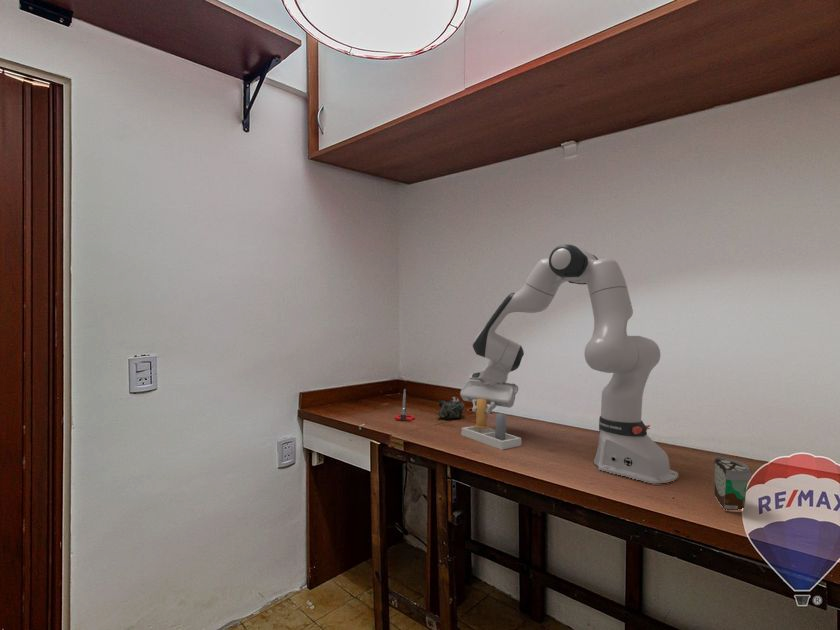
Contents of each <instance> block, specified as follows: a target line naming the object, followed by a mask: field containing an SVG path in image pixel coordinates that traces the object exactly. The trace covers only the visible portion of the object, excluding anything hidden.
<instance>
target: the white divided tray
mask: <svg viewBox="0 0 840 630" xmlns="http://www.w3.org/2000/svg"><path fill="white" fill-rule="evenodd" d="M461 436H463V437H467V438H468V439H470V440H474V441H476V442H479V443H482V444H485V445H487V446H491V447H493V448H496V449H498V450H501V451H503V450H507V449H512V448H518V447H522V437H520V436H516V435H512V434H509V433H507V432H506V436H505V440H503V441H501V440H499V439H496V438H495V429H494V428H491V427H489V426H487V428H486V429H479V428H475V425H471V426H465V427H461Z"/></svg>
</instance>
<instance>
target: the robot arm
mask: <svg viewBox="0 0 840 630" xmlns="http://www.w3.org/2000/svg"><path fill="white" fill-rule="evenodd" d="M565 282H568V283H569V284H576V285H586V286H587V289H588V294H589V299H590V304H591V308H592V314H593V321H594V323H593V331H592V336H591V339H590V340H589V341H588V342H587V344H586V345H585V347H584V353H583V354H584V359H585V362H586V363H587V365H588V367H590V368H591V369H592V370H594V371H598V372H600V373H601V372H602V373H606V374H612V375H611V379H610V380H609V382H608V384H606V386H604V388H603V389H602V391H601V401H600V402H601V406H600V416H599V419H598V421H599V422H598V432H599V437H598V444H597V448H596V449H597V450H596V454H595V457H594V460H593V463H594V464H595V466H597V469H598V470H599V471H600V470H602V471H601V472H603V471H606V472H605V473H607V472H609V473H608V474H611V473H613V474H612V475H615V474H617V475H616V476H618V475H621V476H620V477H622V476H626V477H629V478H628V479H630V478H632V479H631V480H634V479H636V480H635V481H637V480H641V481H644V482H643V483H645V482H649V483H665V482H670V481H672V480H674V479H676V478H677V477H678V478H679V473H678V471H676V470H672V469H671V467H670V460H669V456H668V454H667V452H666V451H665V450H663V449H662V448H661V447H660V446H659V444H657V443H656V442H655V441H654V440H653V439H652V438H651V437H650V436H649V435H648V432H647V431H648V430H650V429H651V428H650V426H651V425H650V424H648V425H645V423H644V421H643V420H642V412H643V410H642V409H643V396H644V391H645V387H646V385H647V384H646V383H647V382H648V379H649V377H650V374H651V372H652V370H653V369H654V368H655V367H656V366H657V365H658V364H659V361H660V360H661V349H660V346H659V345H658V344H657V343H656V342H655V341H654V340H653V339H651V338H648V337H644V336H640V335H628V332H627V331H628V330H627V329H628V328H627V327H628V322H629V321H628V320H630V319H631V317H633V314H634V310H633V305H632V302H631V297H630V294H629V290H628V286H627V281H626V279H625V276H624V273H623V271H622V269H621V267H620V265H619V263H618V262H617V260H615V259H613V258H608V257H604V258H598V257H597V256H595V255H594V254H592V253H591V252H588V251H587V250H586V249H583V248H581V247H578V246H575V245H573V244H559V245H558V246H556V247H554V249H553V250H552V251H551V252H550V253H549V257H547V258H546V257H545V258H541V259H540V260H539V261H537V263H536V264H535V266H534V267H533V268H532V270H531V271H530V273H529V275H528V277H527V278H526V281H525V282H524V284H523V286H522V287H521V288H520V289H519V290H517V291H516V292H510V293H509V294H508V295H507V296H506V297H505V298H504V300H503V301H502V302H501V304H499V306H498V307H497V309H496V310H495V311H494V313H493V314H492V315H491V317H490V319H489V320H488V321H487V323H486V324H485V326H483V328H481V330H480V331H479V332H478V333H477V334H476V335H475V337H474V339H473V341H472V348H473V350H474V352H475V354H476V355H477V356H480V357H483V358H485V359H488V364H487V367H486V368H485V369H484V370H481V371H478V372H472V373H470V374H469V379H467V380H466V381H465V383H464V385H463V386H462V388H461V390H460V392H459V394H460V397H461V399H462V400H463V401H465V402H471V403H472V405H473V406H472V408H471V410H472V412H473V413H476V411H477V399H486V405H488V407H486V408H485V410H484V413H485V414H486V415H490V414H491V411H494V410H495V408H496V407H502V408H509V409H510V408H512V407H513V406H514V405H515V400H516V395H517V394H518V392H519V386H518V385H516V383H510V382H507V381H508V375H509V374H510V372H513V371H516V370H517V369H518V368H519V367H520V365H521V362H522V360H523V359H522V358H523V357H524V354H525V353H524V352H525V351H524V348H523V346H522V345H521V344H519V343H518V342H515V341H513V340H511V339H508V338H506V337H504V336H502V335H500V334H498V333H497V332H496V330H497V329H498V327H499V326H500V325H501V324H502V322H503V321H504V319H505V318H506V317H507V316H509V314H512V313H526V314H527V313H528V314H535V313H540V312H543V311H545V310H546V309H548V307H549V306H550V304H551V303H552V301H553V300H554V298H555V296H556V293H557V292H558V289H559V288H560V287H561V286H562V284H563V283H565ZM626 477H625V478H626ZM641 481H640V482H641ZM649 483H648V484H649Z"/></svg>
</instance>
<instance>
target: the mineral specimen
mask: <svg viewBox="0 0 840 630" xmlns="http://www.w3.org/2000/svg"><path fill="white" fill-rule="evenodd" d="M451 398H452V399H451V400H449V399H448V400H447V401H445V400H443V399H439V401H438V407H439V408H440V409H439V410H437V411H436V412H435V414H436V415H437V416H439V417H440V418H441V419H444V420H445V419H446V420H449V419H456V418H457V419H458V418H460V419H461V418H463V417H464V416H463V414H464V410H465V409H466V408H465V404H464V402H462V401H460V400H459V398H458V397H456V396H453V397H451Z"/></svg>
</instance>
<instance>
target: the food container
mask: <svg viewBox="0 0 840 630" xmlns="http://www.w3.org/2000/svg"><path fill="white" fill-rule="evenodd" d="M713 464H714V466H713V468H714V469H713V471H714V472H713V473H714V475H713V483H714V484H713V495H714V494H715V496H716V497H717V499H718V501H719V502H720V504H721V505H722V506H723V508H724V509H725V510H726V509H727V510H738V509H742V508H744V509H745V505H746V496H747V488H748V482H749V481H748V480H750V479H752V473H751V470H750V467H749V465H747V464H745V463H743V462H742V461H739V460H735V459H731V458H727V457H723V456H717V455H715V456H714V457H713Z"/></svg>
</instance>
